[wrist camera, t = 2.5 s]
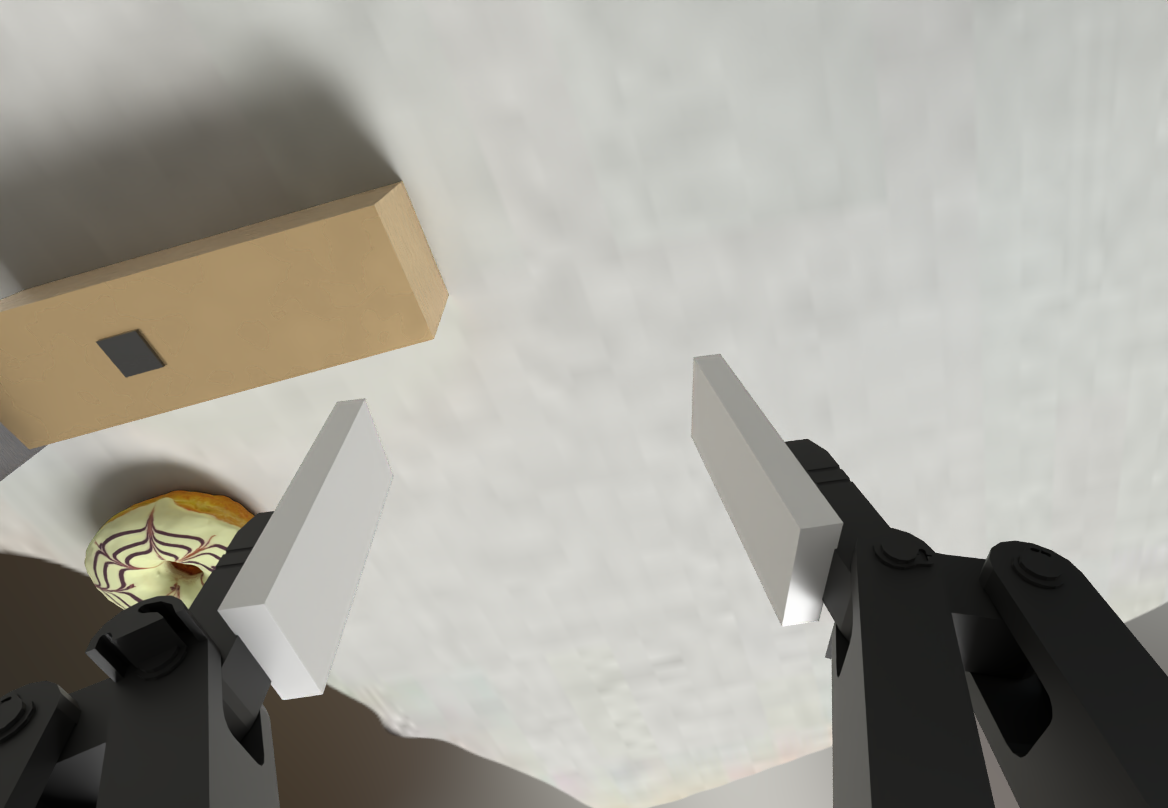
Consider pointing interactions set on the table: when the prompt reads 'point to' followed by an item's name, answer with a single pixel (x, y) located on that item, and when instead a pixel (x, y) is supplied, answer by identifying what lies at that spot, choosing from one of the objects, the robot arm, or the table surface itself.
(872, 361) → the table surface
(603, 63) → the table surface
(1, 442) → the grey cradle stand
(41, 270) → the table surface
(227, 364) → the tan wooden brick
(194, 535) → the decorated donut
